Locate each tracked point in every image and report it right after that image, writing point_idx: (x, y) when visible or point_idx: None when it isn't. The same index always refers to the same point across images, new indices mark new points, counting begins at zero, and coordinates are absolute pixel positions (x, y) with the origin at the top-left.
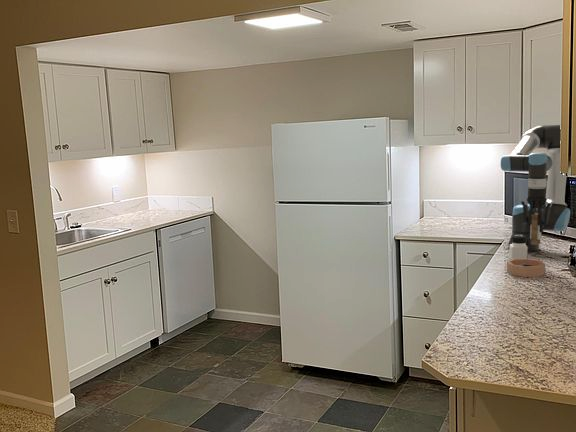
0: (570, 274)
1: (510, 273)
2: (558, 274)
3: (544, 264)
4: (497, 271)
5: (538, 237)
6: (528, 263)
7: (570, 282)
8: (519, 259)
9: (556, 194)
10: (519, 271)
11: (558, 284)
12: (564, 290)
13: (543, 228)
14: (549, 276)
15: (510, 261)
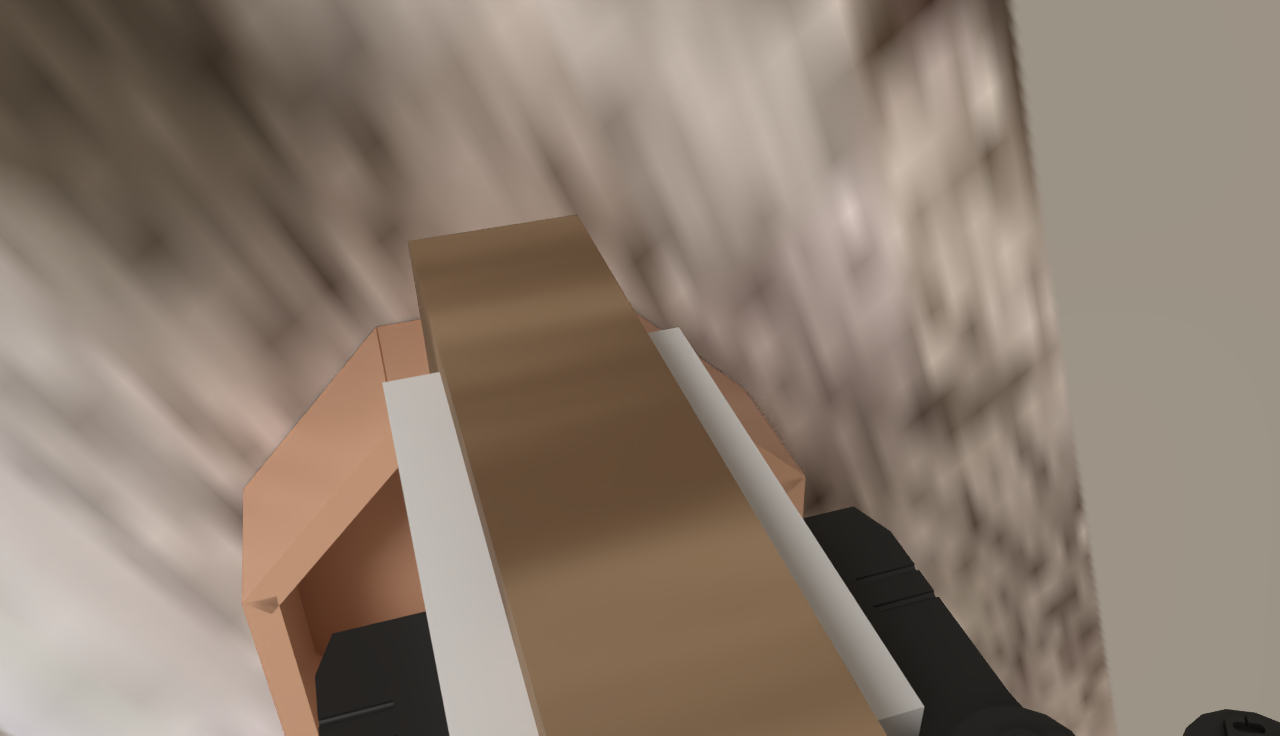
0: (1025, 188)
1: None
2: (895, 298)
3: (801, 505)
4: (199, 722)
5: None
6: None
7: (1071, 485)
8: (335, 533)
9: None
10: None
11: (984, 614)
12: (1058, 701)
13: (939, 606)
14: (829, 452)
15: (310, 707)
